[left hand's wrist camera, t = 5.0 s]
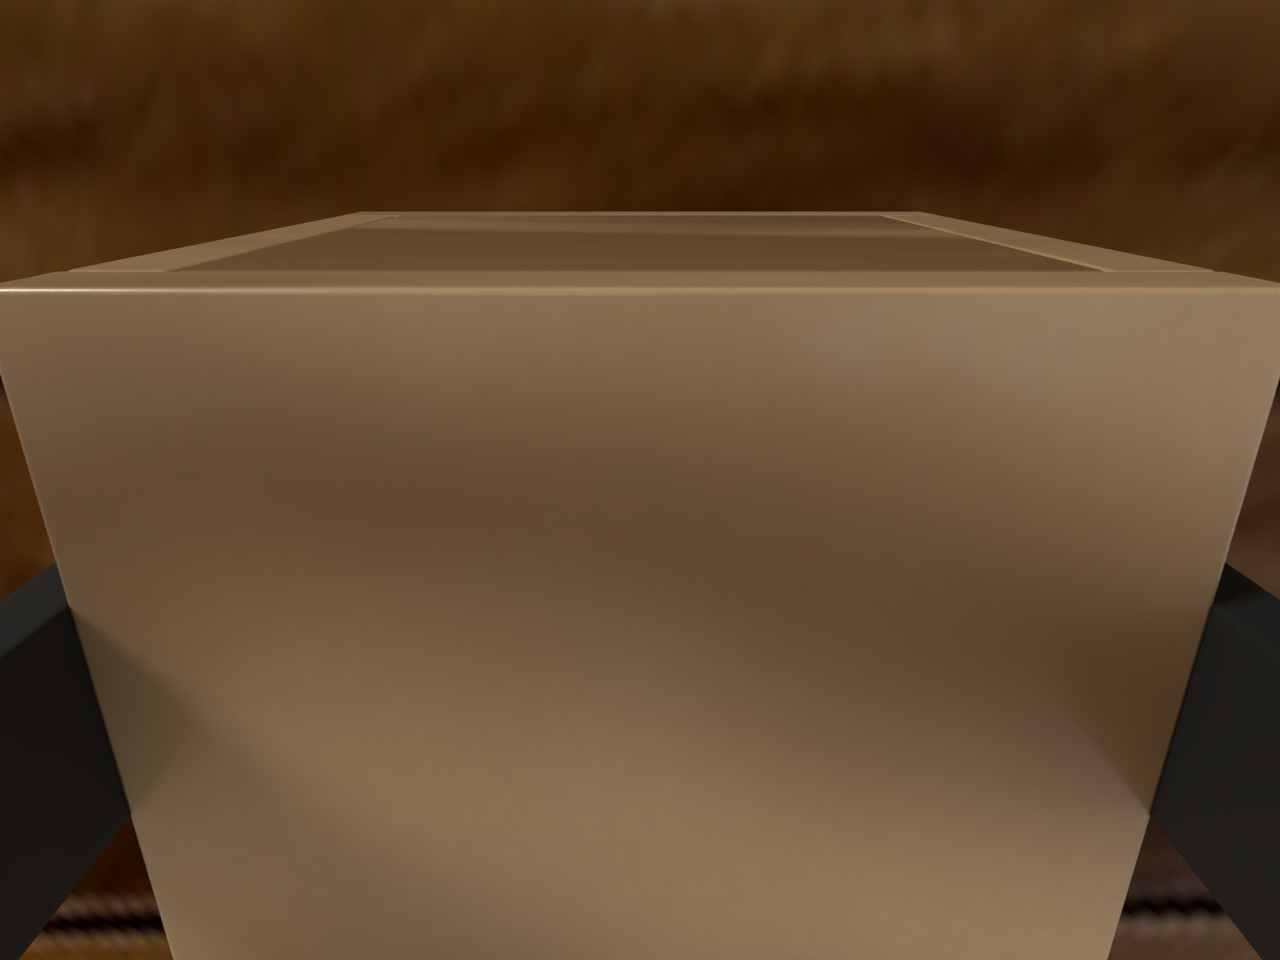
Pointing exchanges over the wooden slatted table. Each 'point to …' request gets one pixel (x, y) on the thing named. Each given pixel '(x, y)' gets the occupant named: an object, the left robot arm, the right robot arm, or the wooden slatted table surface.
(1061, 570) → the cabinet
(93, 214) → the wooden slatted table surface
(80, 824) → the left robot arm
